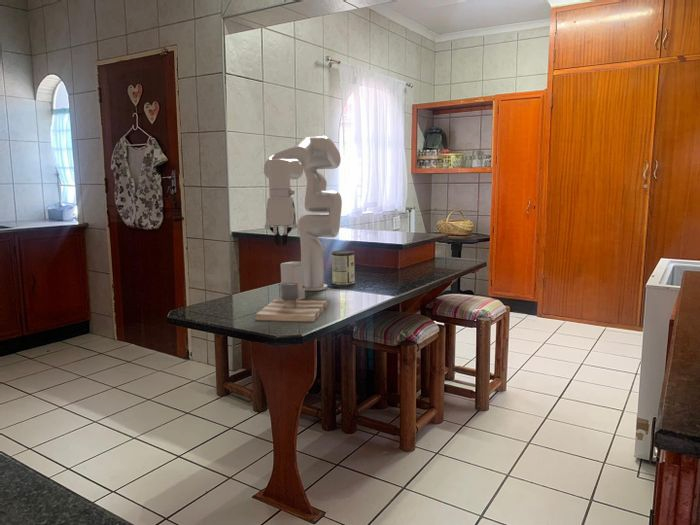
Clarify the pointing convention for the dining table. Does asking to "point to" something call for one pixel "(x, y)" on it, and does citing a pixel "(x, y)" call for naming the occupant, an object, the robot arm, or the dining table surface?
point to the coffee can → (343, 267)
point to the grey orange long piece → (289, 290)
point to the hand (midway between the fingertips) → (281, 244)
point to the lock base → (292, 310)
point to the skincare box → (294, 276)
